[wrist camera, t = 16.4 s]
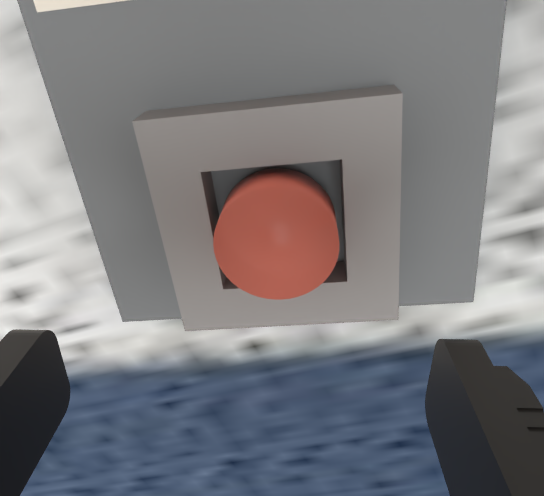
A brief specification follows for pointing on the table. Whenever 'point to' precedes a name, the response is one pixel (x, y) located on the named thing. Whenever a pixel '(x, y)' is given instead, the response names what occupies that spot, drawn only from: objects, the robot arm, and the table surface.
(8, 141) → the table surface
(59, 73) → the board
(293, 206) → the button
